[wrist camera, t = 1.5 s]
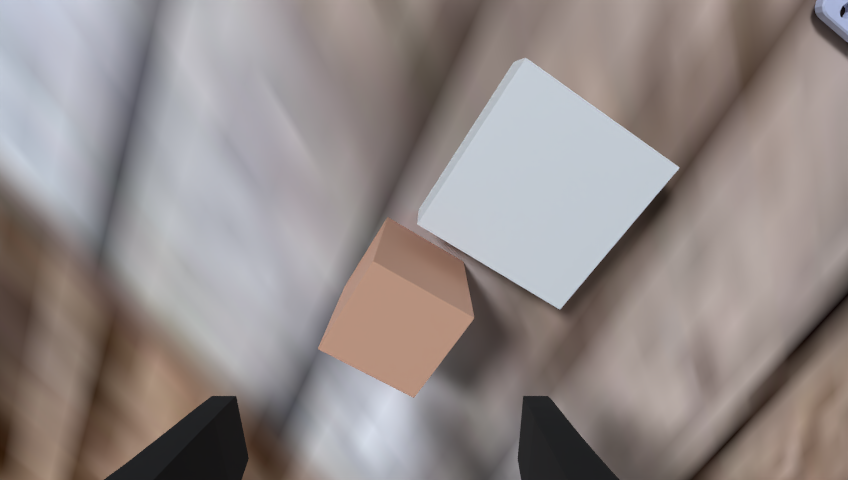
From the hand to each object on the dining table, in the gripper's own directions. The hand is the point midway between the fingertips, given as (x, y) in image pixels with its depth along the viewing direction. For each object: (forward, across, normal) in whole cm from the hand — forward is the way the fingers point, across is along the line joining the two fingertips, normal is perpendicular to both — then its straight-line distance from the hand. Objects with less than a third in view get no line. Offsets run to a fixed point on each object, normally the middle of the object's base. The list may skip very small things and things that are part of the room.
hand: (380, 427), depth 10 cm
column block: (+9, 0, 0) cm, 9 cm away
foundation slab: (+10, -6, -4) cm, 12 cm away
